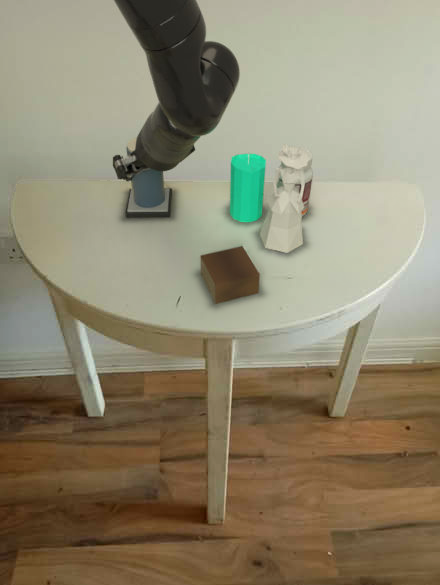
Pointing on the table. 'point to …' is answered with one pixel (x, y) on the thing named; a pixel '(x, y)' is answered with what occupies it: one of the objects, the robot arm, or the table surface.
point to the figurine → (285, 204)
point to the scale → (153, 212)
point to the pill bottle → (307, 180)
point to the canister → (146, 184)
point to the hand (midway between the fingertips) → (142, 171)
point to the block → (229, 274)
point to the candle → (247, 187)
